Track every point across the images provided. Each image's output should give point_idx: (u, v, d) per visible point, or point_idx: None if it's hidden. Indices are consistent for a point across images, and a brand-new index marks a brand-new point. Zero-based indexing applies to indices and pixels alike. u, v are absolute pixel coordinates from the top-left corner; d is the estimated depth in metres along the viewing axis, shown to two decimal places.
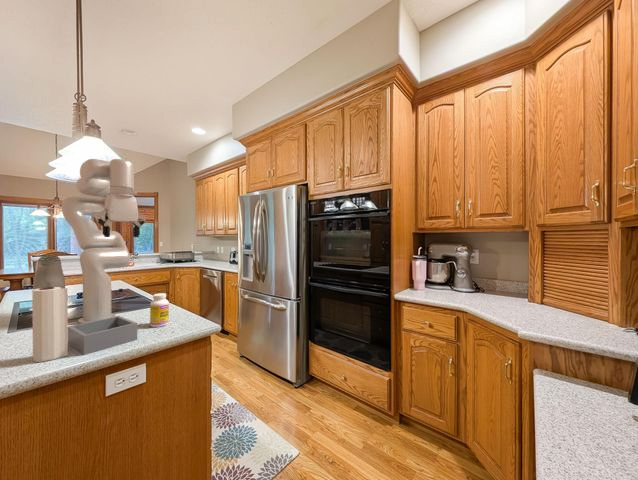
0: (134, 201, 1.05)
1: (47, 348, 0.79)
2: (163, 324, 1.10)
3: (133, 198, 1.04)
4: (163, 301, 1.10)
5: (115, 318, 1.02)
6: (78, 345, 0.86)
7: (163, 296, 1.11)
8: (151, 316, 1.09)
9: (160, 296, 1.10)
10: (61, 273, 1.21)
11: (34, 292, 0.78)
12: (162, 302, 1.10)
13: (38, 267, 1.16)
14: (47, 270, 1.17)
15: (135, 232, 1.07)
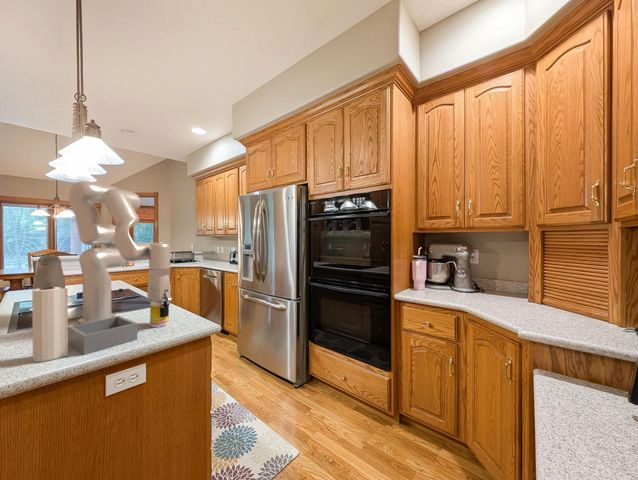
0: None
1: (47, 348, 0.79)
2: (163, 324, 1.10)
3: None
4: None
5: (115, 318, 1.02)
6: (78, 345, 0.86)
7: None
8: (151, 316, 1.09)
9: None
10: (61, 273, 1.21)
11: (34, 292, 0.78)
12: None
13: (38, 267, 1.16)
14: (47, 270, 1.17)
15: None
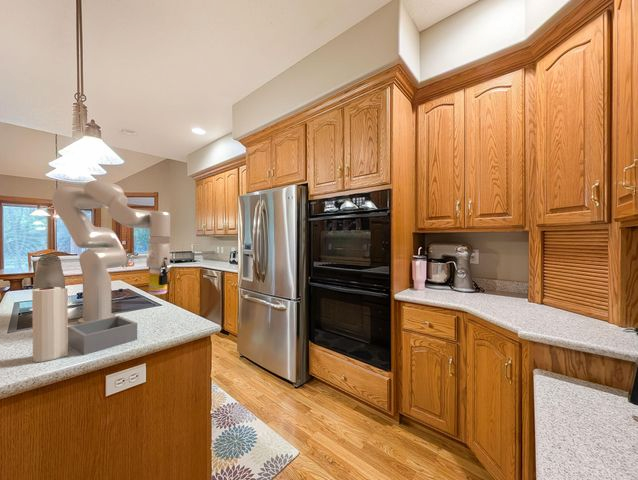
0: None
1: (47, 348, 0.79)
2: (162, 292, 1.10)
3: None
4: None
5: (115, 318, 1.02)
6: (78, 345, 0.86)
7: None
8: (150, 283, 1.09)
9: None
10: (61, 273, 1.21)
11: (34, 292, 0.78)
12: None
13: (38, 267, 1.16)
14: (47, 270, 1.17)
15: None
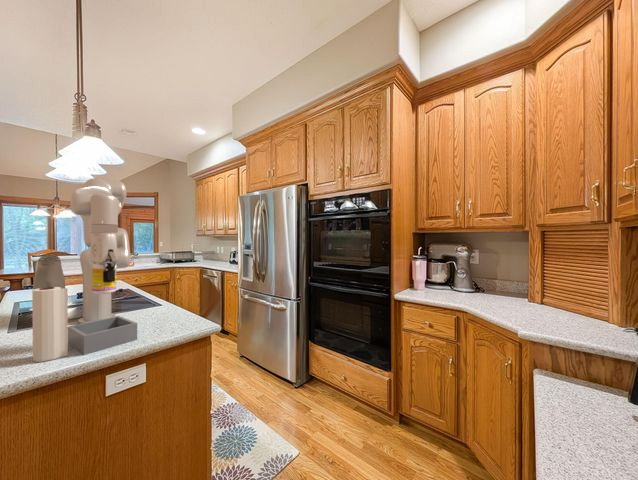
0: None
1: (47, 348, 0.79)
2: (108, 291, 0.92)
3: None
4: None
5: (115, 318, 1.02)
6: (78, 345, 0.86)
7: None
8: (93, 281, 0.91)
9: None
10: (61, 273, 1.21)
11: (34, 292, 0.78)
12: (107, 264, 0.92)
13: (38, 267, 1.16)
14: (47, 270, 1.17)
15: None
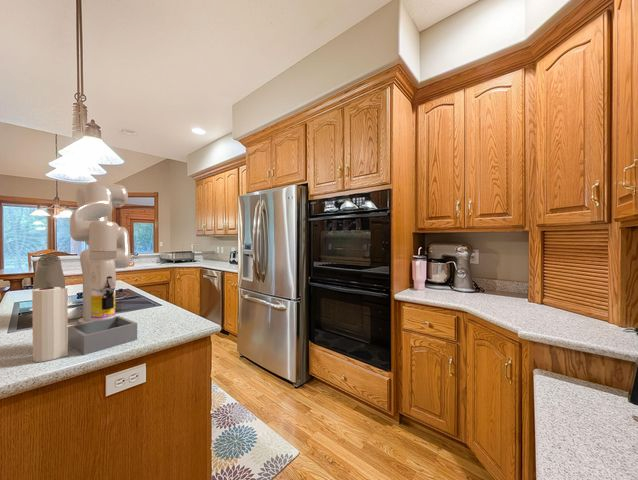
0: None
1: (47, 348, 0.79)
2: (107, 318, 0.92)
3: None
4: None
5: (115, 318, 1.02)
6: (78, 345, 0.86)
7: None
8: (91, 308, 0.91)
9: None
10: (61, 273, 1.21)
11: (34, 292, 0.78)
12: (105, 291, 0.92)
13: (38, 267, 1.16)
14: (47, 270, 1.17)
15: None
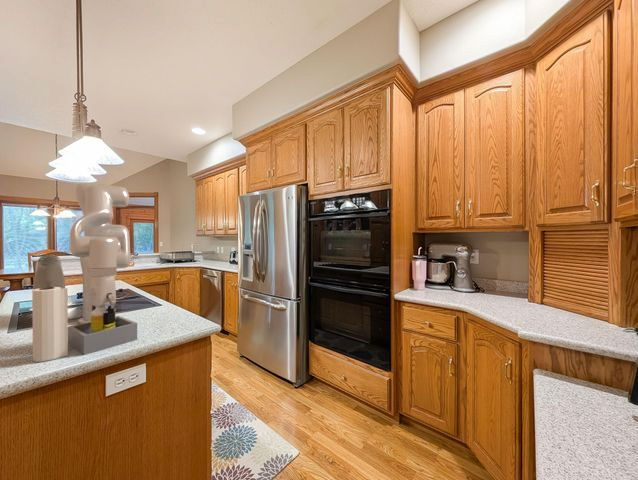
0: None
1: (47, 348, 0.79)
2: None
3: None
4: None
5: (115, 318, 1.02)
6: (78, 345, 0.86)
7: None
8: (91, 328, 0.91)
9: None
10: (61, 273, 1.21)
11: (34, 292, 0.78)
12: None
13: (38, 267, 1.16)
14: (47, 270, 1.17)
15: None
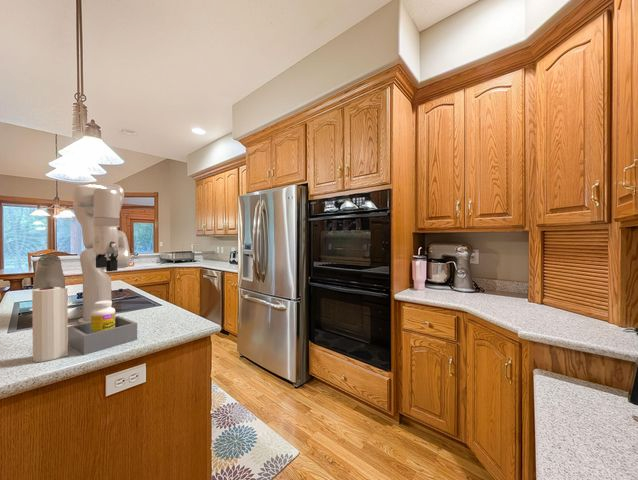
0: None
1: (47, 348, 0.79)
2: None
3: None
4: (107, 310, 0.93)
5: (115, 318, 1.02)
6: (78, 345, 0.86)
7: (107, 304, 0.93)
8: (91, 328, 0.91)
9: (103, 304, 0.92)
10: (61, 273, 1.21)
11: (34, 292, 0.78)
12: (105, 311, 0.92)
13: (38, 267, 1.16)
14: (47, 270, 1.17)
15: (103, 262, 1.01)
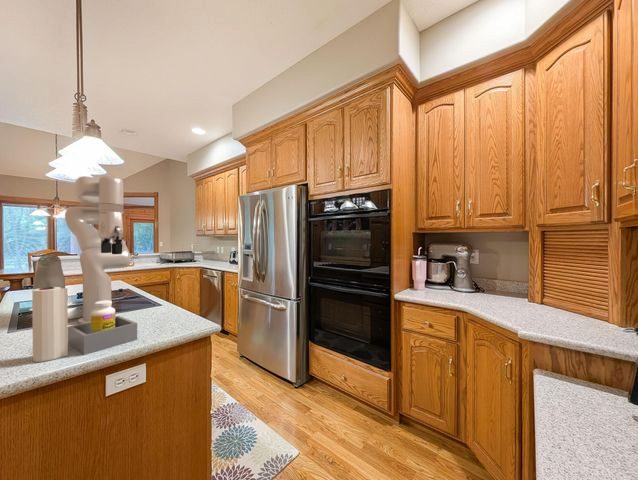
0: None
1: (47, 348, 0.79)
2: None
3: None
4: (107, 310, 0.93)
5: (115, 318, 1.02)
6: (78, 345, 0.86)
7: (107, 304, 0.93)
8: (91, 328, 0.91)
9: (103, 304, 0.92)
10: (61, 273, 1.21)
11: (34, 292, 0.78)
12: (105, 311, 0.92)
13: (38, 267, 1.16)
14: (47, 270, 1.17)
15: (108, 248, 1.06)
